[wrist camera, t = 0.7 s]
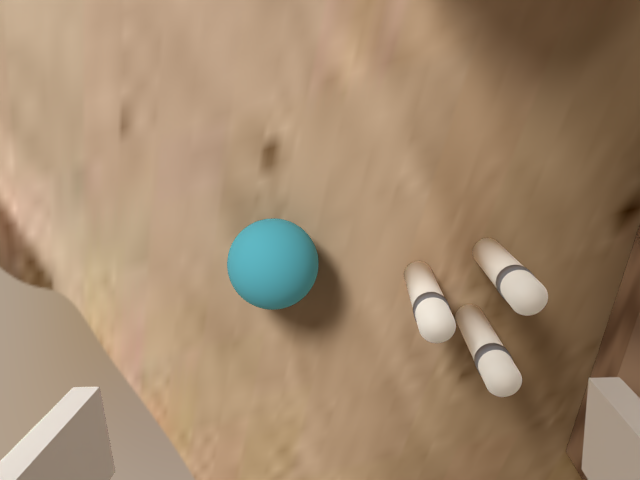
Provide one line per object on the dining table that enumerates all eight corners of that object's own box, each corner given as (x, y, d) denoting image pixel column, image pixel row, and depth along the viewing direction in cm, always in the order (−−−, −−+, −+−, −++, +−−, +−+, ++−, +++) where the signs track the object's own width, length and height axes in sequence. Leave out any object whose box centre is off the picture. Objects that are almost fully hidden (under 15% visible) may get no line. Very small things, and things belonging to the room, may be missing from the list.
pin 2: (451, 307, 37) (480, 368, 29) (480, 300, 37) (519, 360, 28) (458, 333, 38) (488, 401, 29) (486, 326, 38) (526, 393, 29)
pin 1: (469, 241, 36) (505, 284, 27) (499, 233, 36) (545, 275, 27) (475, 269, 37) (512, 320, 28) (505, 261, 36) (552, 311, 28)
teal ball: (227, 222, 37) (203, 244, 31) (307, 200, 36) (298, 219, 30) (252, 299, 38) (234, 333, 33) (331, 279, 38) (326, 311, 32)
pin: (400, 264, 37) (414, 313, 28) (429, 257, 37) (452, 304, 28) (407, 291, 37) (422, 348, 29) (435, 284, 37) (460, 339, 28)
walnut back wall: (591, 456, 40) (610, 483, 37) (565, 451, 40) (582, 478, 37) (699, 141, 34) (732, 145, 31) (668, 136, 34) (698, 139, 31)
